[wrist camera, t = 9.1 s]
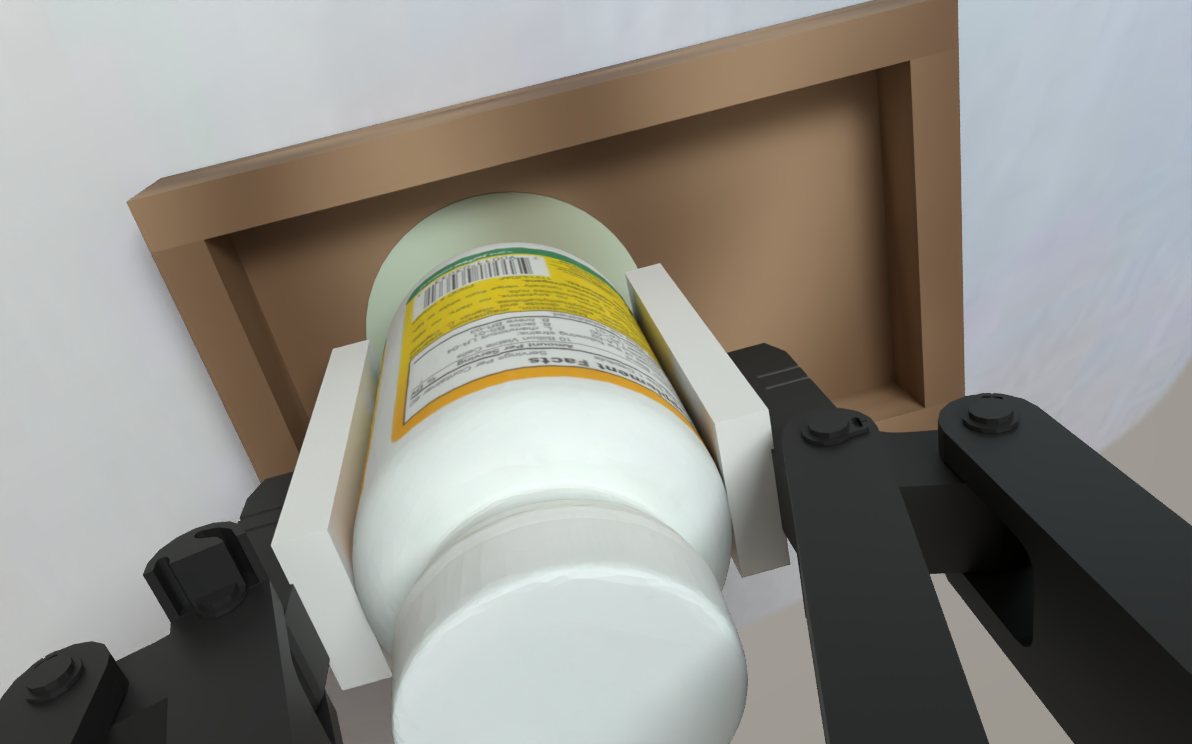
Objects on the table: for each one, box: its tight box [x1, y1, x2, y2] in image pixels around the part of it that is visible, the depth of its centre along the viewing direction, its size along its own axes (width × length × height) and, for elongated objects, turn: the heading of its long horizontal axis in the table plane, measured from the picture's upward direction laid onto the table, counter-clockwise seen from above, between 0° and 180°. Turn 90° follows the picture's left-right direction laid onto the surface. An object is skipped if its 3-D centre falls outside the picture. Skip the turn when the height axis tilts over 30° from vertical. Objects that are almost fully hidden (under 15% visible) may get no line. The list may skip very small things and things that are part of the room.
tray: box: [127, 0, 965, 483], centre depth 19 cm, size 16×10×2 cm, turn 102°
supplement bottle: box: [352, 242, 748, 744], centre depth 13 cm, size 5×5×10 cm
